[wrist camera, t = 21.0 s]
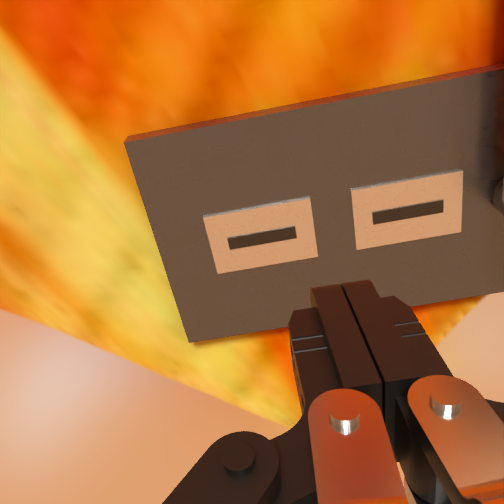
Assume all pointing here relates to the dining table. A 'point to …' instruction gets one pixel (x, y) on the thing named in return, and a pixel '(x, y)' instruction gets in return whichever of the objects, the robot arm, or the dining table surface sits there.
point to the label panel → (329, 201)
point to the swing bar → (499, 196)
